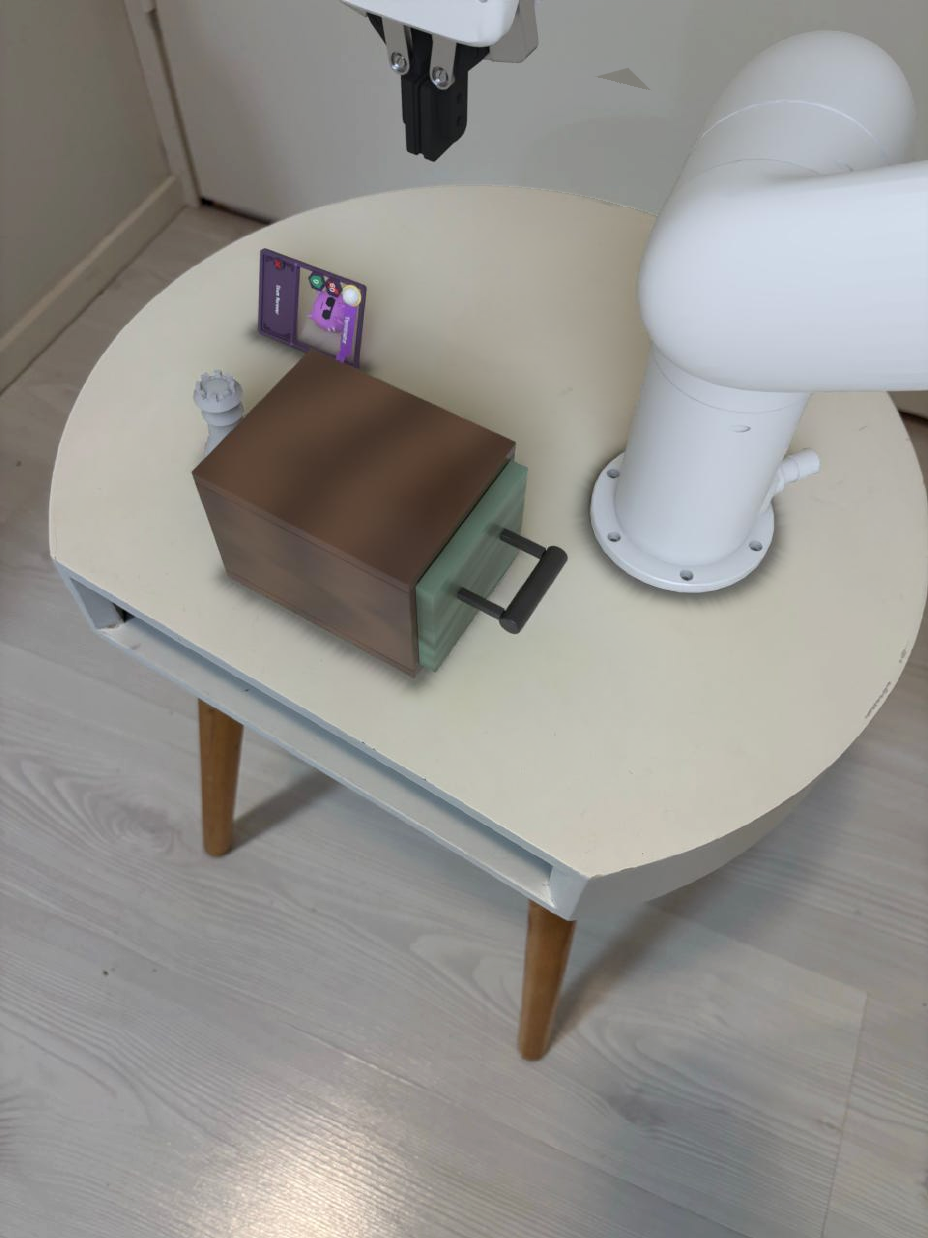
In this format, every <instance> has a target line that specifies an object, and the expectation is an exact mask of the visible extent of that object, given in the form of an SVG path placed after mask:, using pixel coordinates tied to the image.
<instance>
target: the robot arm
mask: <svg viewBox="0 0 928 1238" xmlns="http://www.w3.org/2000/svg"><path fill="white" fill-rule="evenodd" d="M338 1H340V3H342V4H343V5H345V6H347V7H348V8H350V9H351V10H353V11H354V12H356V13H357V14H359V15H360V16H362V17H363V18H364V19H365V18H368V20H369V22H370V24H371V26H372V27H373V28H374V30H375V32H376V33H377V34H378V36H379V37H380V39H381V41H382V42H383V43H384V45H385V46H386V52H387V57H388V62H389V66H390V68H391V69H392V70H393V71H394V73H396V74H397V75H400V88H401V89H400V92H401V94H400V95H401V117H402V122H403V124H404V127H405V149H406V152H407V153H409V154H412V155H413V156H418V155H422V156H423V159H425V160H427V161H430V162H433V163H435V162H437V160H438V159H439V158H441V156H443V155H444V153H446V152H447V151H448V150H449V149H450V148H451V147H452V146H453V145H454V144H455V143H457V142H458V141H459V140H460V139H461V138H462V137H463V136H464V134H465V132H466V129H467V125H468V101H469V100H468V97H469V95H468V94H469V71H471V70H473V68H474V67H476V66H477V65H478V64H480V63H481V62H482V61H483V60H485V61H486V60H487V61H491V62H492V63H493V62H495V63H512V64H520V63H523V62H524V61H526V59H527V58H528V57H529V56H530V55H531V54H532V53H534V52H535V50H536V49H537V48H538V47H539V35H538V34H539V33H538V25H537V18H536V17H537V16H536V9H535V8H536V7H535V6H537V5H538V4H539V3H540V1H541V0H338ZM917 138H918V119H917V110H916V105H915V100H914V96H913V93H912V89H911V87H910V84H909V82H908V80H907V78H906V76H905V74H904V73H903V71H902V68H900V66H899V65H898V64H897V62H896V61H895V60H894V58H893V57H891V56H890V54H889V53H888V52H887V51H886V50H885V49H883V48H882V47H880V46H879V45H877V44H876V43H875V42H873V41H871V40H870V39H867V38H865V37H863V36H861V35H858V34H856V33H852V32H851V33H850V32H848V31H843V30H836V29H818V30H811V31H805V32H802V33H798V34H795V35H791V36H789V37H787V38H785V39H782V40H780V41H778V42H776V43H774V44H773V45H770V46H769V47H767V48H766V49H764V50H762V51H761V52H760V53H759V54H757V55H756V56H754V57H753V58H752V59H751V60H749V62H748V63H747V64H746V65H744V66H743V68H741V69H740V71H738V72H737V73H736V74H735V76H734V77H732V79H731V80H730V82H729V83H728V84H727V85H726V86H725V88H723V91H722V92H721V93H720V95H719V96H718V98H717V99H716V102H715V103H714V104H713V106H712V108H711V109H710V111H709V112H708V115H707V117H706V119H705V121H704V122H703V124H702V126H701V128H700V130H699V132H698V135H697V136H696V138H695V140H694V142H693V144H692V146H691V148H690V150H689V152H688V154H687V156H686V158H685V160H684V161H683V163H682V166H681V169H680V172H679V174H678V176H677V177H676V179H675V182H674V183H673V184H672V187H671V189H670V191H669V193H668V195H667V196H666V197H667V198H666V199H665V201H664V203H663V205H662V206H661V208H660V211H659V213H658V215H657V218H656V220H655V222H654V224H653V225H652V229H651V230H650V233H649V235H648V238H647V239H646V243H645V246H644V248H643V251H642V254H641V259H640V262H639V267H638V272H637V281H636V300H637V301H636V302H637V308H638V313H639V316H640V321H641V323H642V326H643V328H644V330H645V332H646V334H647V336H648V338H649V339H650V345H649V348H648V353H647V357H646V361H645V365H644V370H643V374H642V378H641V382H640V386H639V391H638V395H637V399H636V404H635V407H634V413H633V416H632V420H631V425H630V429H629V432H628V433H629V434H628V438H627V441H626V446H625V450H624V451H623V452H621V453H619V455H617V456H616V457H615V458H613V459H611V461H609V462H608V464H607V465H606V466H605V467H604V468H603V469H602V471H601V472H600V473H599V475H598V477H597V479H596V481H595V483H594V485H593V486H594V487H593V489H592V492H591V493H592V494H591V498H590V505H589V517H590V524H591V528H592V530H593V531H592V532H593V534H594V536H595V540H596V541H597V542H598V544H599V545H600V547H601V549H602V550H603V552H604V553H605V554H606V555H607V556H608V558H609V559H610V560H611V561H612V562H613V563H614V564H615V565H616V566H617V567H618V568H620V569H621V570H623V571H624V572H625V573H627V574H628V575H630V576H631V577H633V578H635V579H637V580H639V582H640V581H641V582H642V583H644V584H646V585H650V586H652V587H656V588H657V589H661V590H666V591H672V592H676V593H693V594H694V593H695V594H697V593H707V592H714V591H717V590H720V589H724V588H727V587H731V586H732V585H734V584H736V583H737V582H739V581H741V580H743V579H746V578H747V577H748V575H749V574H751V573H752V572H753V571H754V570H756V569H757V567H759V565H760V563H761V562H762V560H763V559H764V557H765V556H766V554H767V552H768V550H769V548H770V546H771V544H772V540H773V537H774V533H775V512H774V509H773V504H772V499H773V497H774V496H776V495H779V494H781V493H782V492H783V490H785V486H786V485H788V484H791V483H796V482H798V481H801V480H804V479H805V478H808V477H811V476H813V475H815V474H818V473H819V472H820V470H821V461H820V457H819V455H818V454H817V452H816V451H815V450H814V449H813V448H811V447H805V448H802V449H799V450H797V451H794V452H792V453H789V454H787V455H786V453H787V451H788V449H789V446H790V444H791V442H792V440H793V438H794V436H795V433H796V431H797V429H798V427H799V424H800V422H801V420H802V418H803V416H804V413H805V411H806V409H807V407H808V404H809V403H810V400H811V398H812V396H813V393H857V392H859V393H860V392H862V393H863V392H864V393H865V392H867V393H869V392H913V391H914V392H916V391H917V392H918V391H919V392H920V391H921V392H922V391H928V159H923V160H922V159H921V160H916V161H915V157H916V150H917Z"/></svg>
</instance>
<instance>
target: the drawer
mask: <svg viewBox="0 0 928 1238" xmlns="http://www.w3.org/2000/svg"><path fill="white" fill-rule="evenodd" d="M528 471H529V468H528V467H527V466H525V465H523V464H521V463H519V462H517V461H515V460H514V461H513V460H510V461H509V463H508V464H507V465H506V467H505V468H504V469H503V471H502V472H501V473H500V475H499V476H498V477H497V479H496V480H495V481H494V483H493V484H492V485H491V487H490V488H489V489H488V491H487V492H486V493H485V495H484V496H483V497H482V499H481V498H480V499H479V501H478V502H477V503H476V505H475V506H474V507H473V509H472V510H471V511H470V513H469V514H468V515H467V517H466V518H465V519H464V521H463V522H462V523H461V525H460V526H459V527H458V529H457V530H456V531H455V533H454V534H453V535H452V537H451V538H450V539H449V541H448V542H447V543H446V545H445V546H444V547H443V549H442V550H441V551H440V553H439V556H438V557H437V559H436V560H435V561H434V563H433V564H432V565H431V567H430V568H429V569H428V570H427V572H426V573H425V574H424V576H423V577H422V578H421V580H420V581H419V582H418V583H417V585H416V586H415V590H416V609H417V627H418V646H419V664H420V665H422V666H423V667H424V668H425V669H427V670H429V671H431V672H433V673H437V671H438V670H439V668H440V667H441V666H442V664H443V663H444V661H445V660H446V659H447V657H448V656H449V655H450V653H451V651H452V650H453V648H454V647H455V645H456V644H457V643H458V641H459V640H460V639H461V638H462V636H463V634H464V633H465V631H466V630H467V629H468V627H469V625H470V624H471V623H472V621H473V620H474V618H475V617H476V616H477V614H478V613H479V611H480V612H482V613H484V614H485V615H488V617H489V616H490V617H492V618H494V619H495V620H497V621H498V623H499V626H500V627H501V628H502V629H503V630H504V631H506V632H507V633H509V634H511V635H518V634H520V633H521V632H522V631H523V629H524V628H525V626H526V623H528V621H529V619H530V618H531V617H532V615H533V613H534V612H535V611H536V609H537V607H538V606H539V604H540V603H541V601H542V599H544V597H545V596H546V594H547V592H548V591H549V589H550V588H551V586H552V585H553V583H554V582H555V580H556V579H557V577H558V576H559V575H560V573H561V571H562V569H563V568H564V566H565V565H566V564H567V562H568V561H569V556H568V553H567V552H566V551H565V550H564V549H563V548H561V547H559V546H557V545H549V546H548V547H546V546H545V547H544V546H543V545H541V544H540V543H537V542H535V541H533V540H531V539H529V538H526V537H524V536H523V535H521V534H522V525H523V516H524V508H525V498H526V491H527V490H526V488H527V480H528ZM520 551H522V552H524V553H526V554H528V555H530V556H532V557H534V558H536V559H538V562H537V563H536V565H535V566H534V567H533V569H532V570H531V572H530V573H529V575H528V576H527V578H526V579H525V581H524V582H523V583H522V585H521V587H520V588H519V589H518V591H517V592H516V594H515V595H514V597H513V598H512V600H511V601H510V603H508V606H507V607H506V608H504V607H503V606H501V605H498V604H497V603H495V602H493V601H490V600H489V599H488V598H489V597H490V596H491V594H492V592H493V591H494V589H495V588H496V587H497V585H498V584H499V583H500V581H501V580H502V579H503V577H504V576H505V574H506V572H507V571H508V570H509V568H510V567H511V565H512V564H513V563H514V561H515V560H516V558H517V557H518V556H519V554H520V553H519V552H520Z"/></svg>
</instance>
